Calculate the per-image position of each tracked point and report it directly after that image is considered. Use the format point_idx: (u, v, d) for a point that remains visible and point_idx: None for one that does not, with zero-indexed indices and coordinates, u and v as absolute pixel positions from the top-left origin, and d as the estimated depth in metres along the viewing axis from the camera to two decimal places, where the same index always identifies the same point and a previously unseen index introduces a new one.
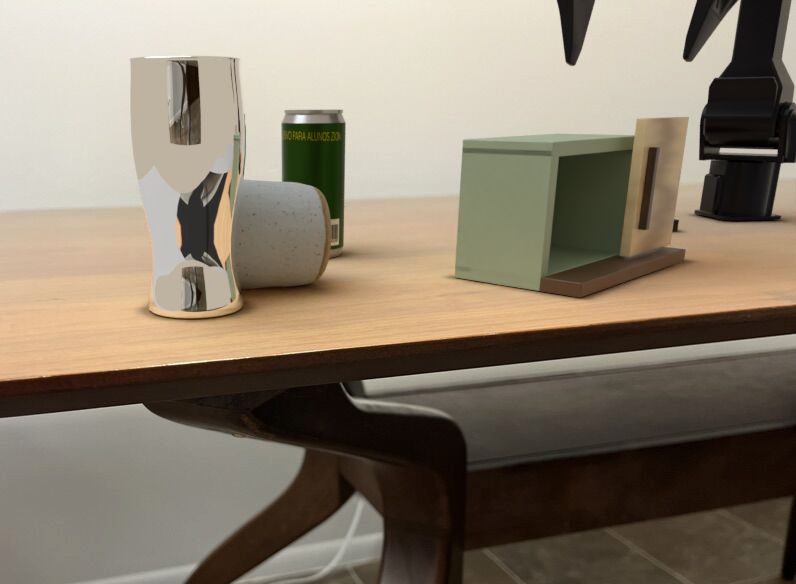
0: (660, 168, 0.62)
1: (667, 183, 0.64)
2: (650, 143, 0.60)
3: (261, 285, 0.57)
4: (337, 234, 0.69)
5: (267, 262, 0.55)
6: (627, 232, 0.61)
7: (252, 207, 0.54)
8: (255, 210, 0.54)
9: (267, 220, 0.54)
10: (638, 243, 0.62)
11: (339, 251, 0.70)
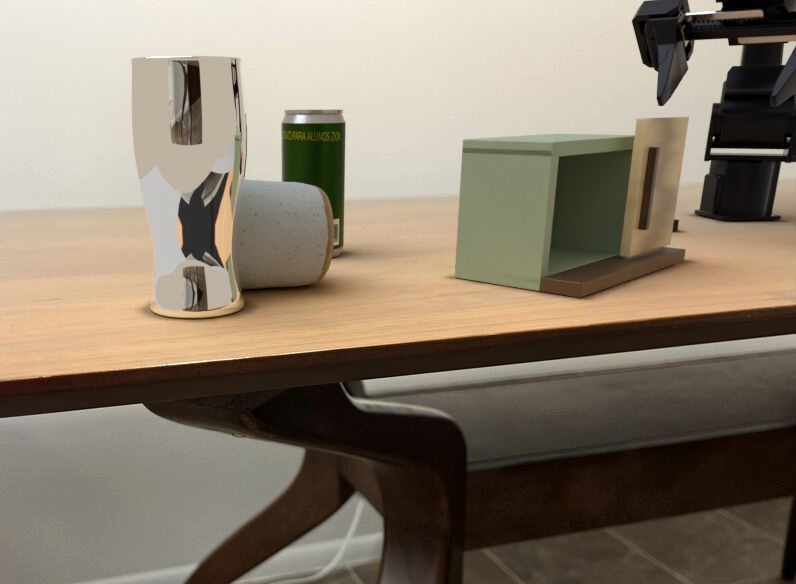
0: (660, 168, 0.62)
1: (667, 183, 0.64)
2: (650, 143, 0.60)
3: (263, 285, 0.57)
4: (337, 234, 0.69)
5: (269, 262, 0.54)
6: (627, 232, 0.61)
7: (254, 207, 0.54)
8: (257, 210, 0.54)
9: (269, 220, 0.54)
10: (638, 243, 0.62)
11: (339, 251, 0.70)
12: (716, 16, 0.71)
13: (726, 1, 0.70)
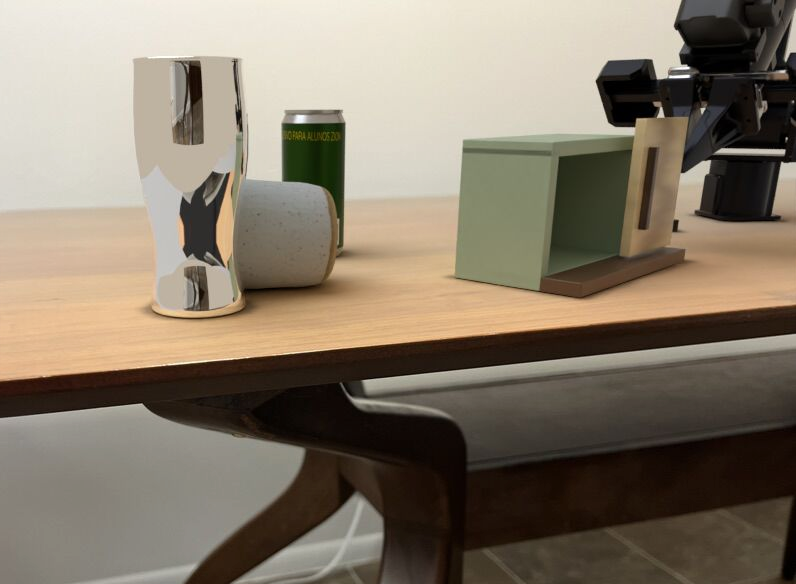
0: (660, 168, 0.62)
1: (667, 183, 0.64)
2: (650, 143, 0.60)
3: (267, 285, 0.57)
4: None
5: (272, 262, 0.54)
6: (627, 232, 0.61)
7: (257, 207, 0.53)
8: (260, 210, 0.53)
9: (272, 220, 0.54)
10: (638, 243, 0.62)
11: (339, 251, 0.70)
12: None
13: (691, 64, 0.68)
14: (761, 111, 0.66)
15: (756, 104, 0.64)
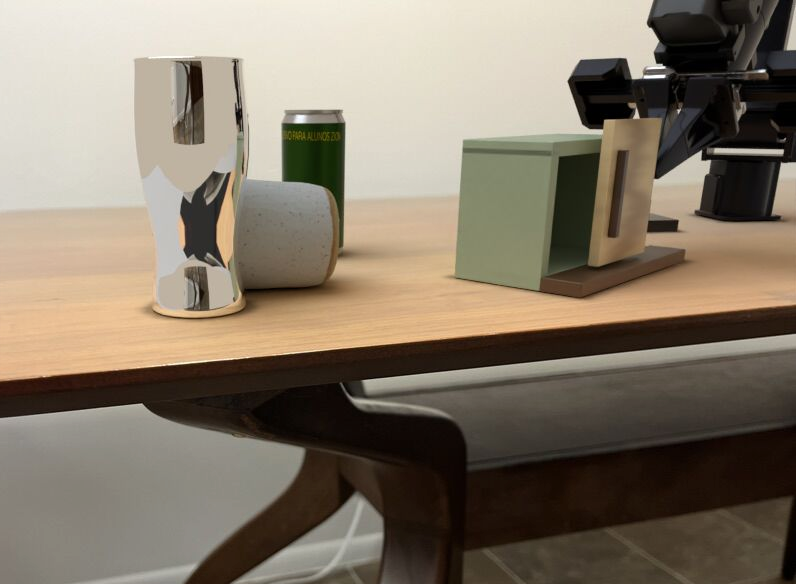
0: (631, 172, 0.58)
1: (639, 188, 0.60)
2: (619, 146, 0.56)
3: (268, 285, 0.57)
4: None
5: (273, 262, 0.54)
6: (595, 240, 0.58)
7: (258, 207, 0.53)
8: (261, 210, 0.53)
9: (273, 220, 0.54)
10: (607, 252, 0.59)
11: (339, 251, 0.70)
12: None
13: (667, 63, 0.64)
14: (739, 113, 0.63)
15: (734, 106, 0.61)
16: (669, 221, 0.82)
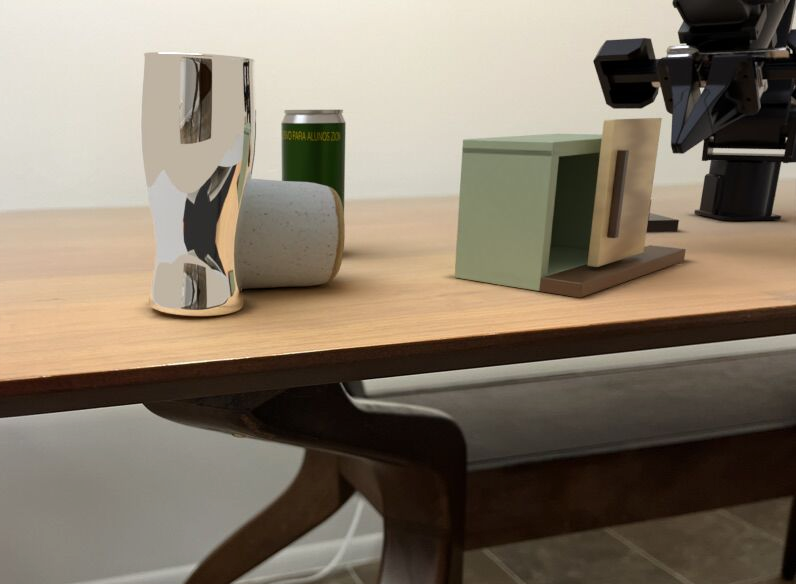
0: (630, 172, 0.58)
1: (639, 188, 0.60)
2: (618, 146, 0.56)
3: (274, 284, 0.57)
4: None
5: (279, 262, 0.55)
6: (595, 240, 0.58)
7: (264, 206, 0.54)
8: (267, 210, 0.54)
9: (279, 219, 0.54)
10: (607, 252, 0.59)
11: None
12: None
13: (690, 42, 0.67)
14: (761, 90, 0.65)
15: (756, 82, 0.63)
16: (669, 221, 0.82)
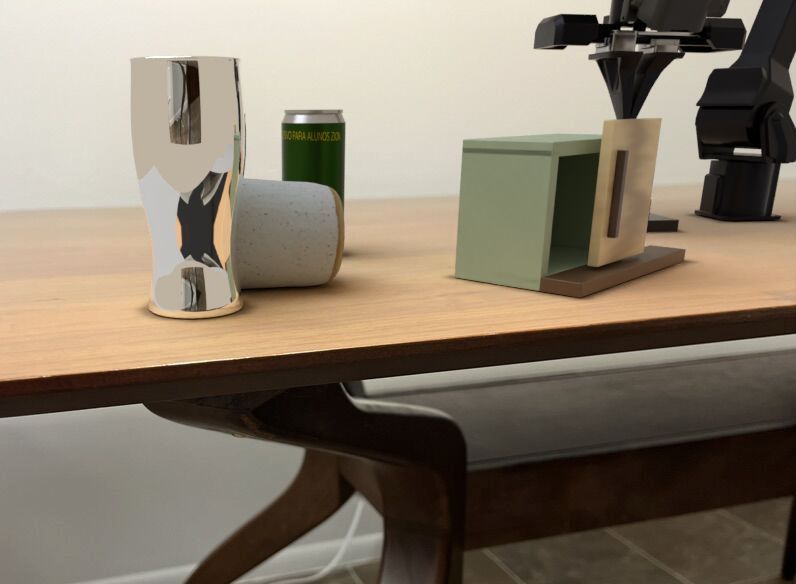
0: (630, 172, 0.58)
1: (639, 188, 0.60)
2: (618, 146, 0.56)
3: (274, 284, 0.57)
4: None
5: (279, 262, 0.55)
6: (595, 240, 0.58)
7: (264, 206, 0.54)
8: (267, 210, 0.54)
9: (279, 219, 0.54)
10: (607, 252, 0.59)
11: None
12: (662, 35, 0.77)
13: (629, 22, 0.76)
14: None
15: None
16: (669, 221, 0.82)
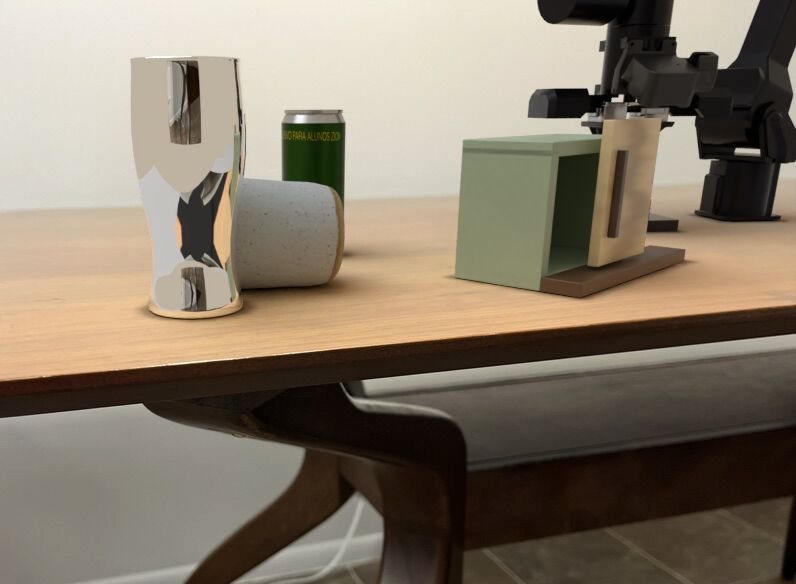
0: (630, 172, 0.58)
1: (639, 188, 0.60)
2: (618, 146, 0.56)
3: (274, 284, 0.57)
4: None
5: (279, 262, 0.55)
6: (595, 240, 0.58)
7: (264, 206, 0.54)
8: (267, 210, 0.54)
9: (279, 219, 0.54)
10: (607, 252, 0.59)
11: None
12: None
13: None
14: None
15: None
16: (669, 221, 0.82)
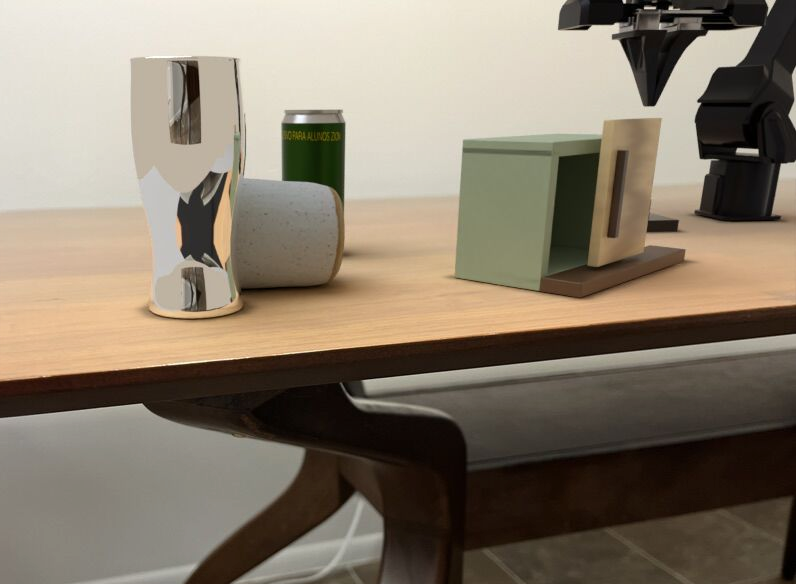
0: (630, 172, 0.58)
1: (639, 188, 0.60)
2: (618, 146, 0.56)
3: (274, 284, 0.57)
4: None
5: (279, 262, 0.55)
6: (595, 240, 0.58)
7: (264, 206, 0.54)
8: (267, 210, 0.54)
9: (279, 219, 0.54)
10: (607, 252, 0.59)
11: None
12: (685, 13, 0.79)
13: (653, 1, 0.77)
14: None
15: None
16: (669, 221, 0.82)
